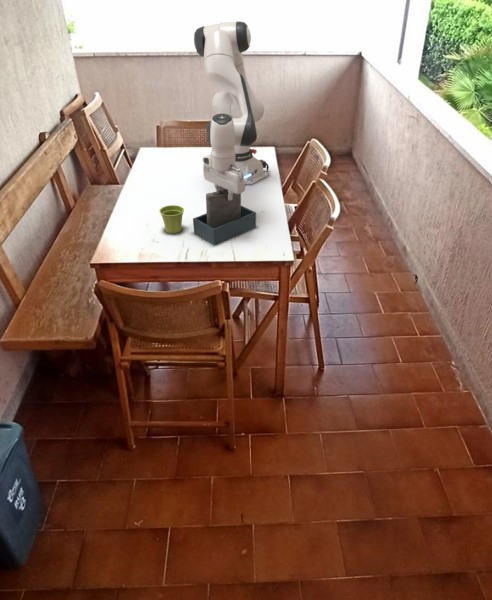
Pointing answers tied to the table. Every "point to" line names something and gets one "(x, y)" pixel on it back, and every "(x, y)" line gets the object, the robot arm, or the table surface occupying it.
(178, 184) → the table surface
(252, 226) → the tote
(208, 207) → the flask
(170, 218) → the plant pot
